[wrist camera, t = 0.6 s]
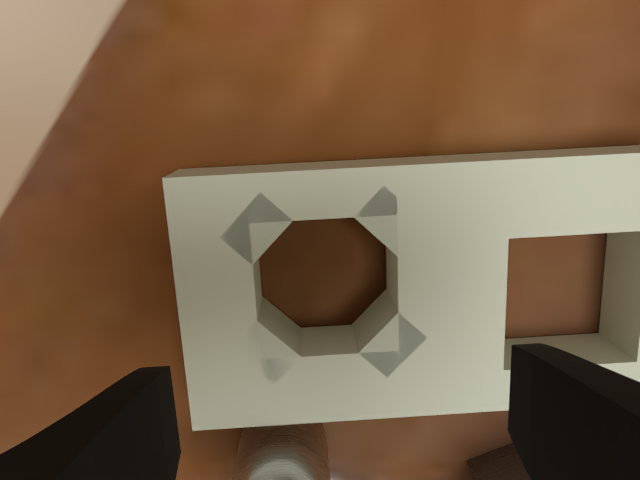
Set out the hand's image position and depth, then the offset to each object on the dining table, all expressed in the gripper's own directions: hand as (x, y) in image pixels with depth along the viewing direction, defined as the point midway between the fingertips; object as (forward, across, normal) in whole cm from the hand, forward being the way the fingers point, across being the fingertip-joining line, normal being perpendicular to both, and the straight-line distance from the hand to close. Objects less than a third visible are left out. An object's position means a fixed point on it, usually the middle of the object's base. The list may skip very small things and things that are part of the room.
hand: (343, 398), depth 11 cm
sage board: (+9, -4, 0) cm, 10 cm away
